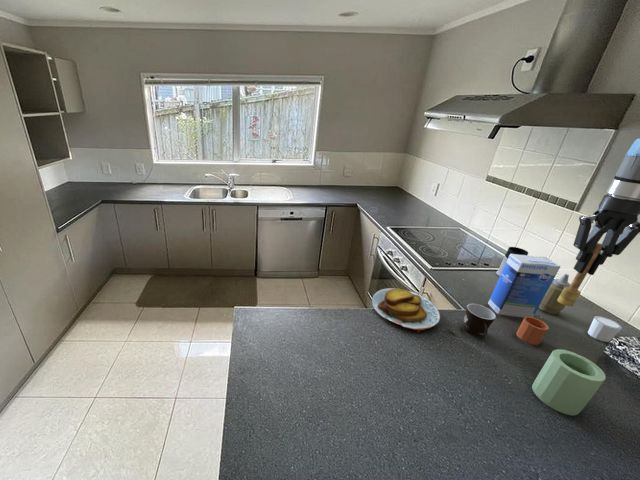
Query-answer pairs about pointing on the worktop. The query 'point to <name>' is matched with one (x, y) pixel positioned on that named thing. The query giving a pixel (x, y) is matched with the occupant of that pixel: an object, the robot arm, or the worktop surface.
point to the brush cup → (532, 330)
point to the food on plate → (406, 308)
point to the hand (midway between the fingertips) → (583, 271)
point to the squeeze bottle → (554, 296)
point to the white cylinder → (603, 328)
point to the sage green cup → (567, 382)
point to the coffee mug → (477, 320)
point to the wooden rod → (578, 281)
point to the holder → (510, 251)
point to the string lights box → (523, 285)
